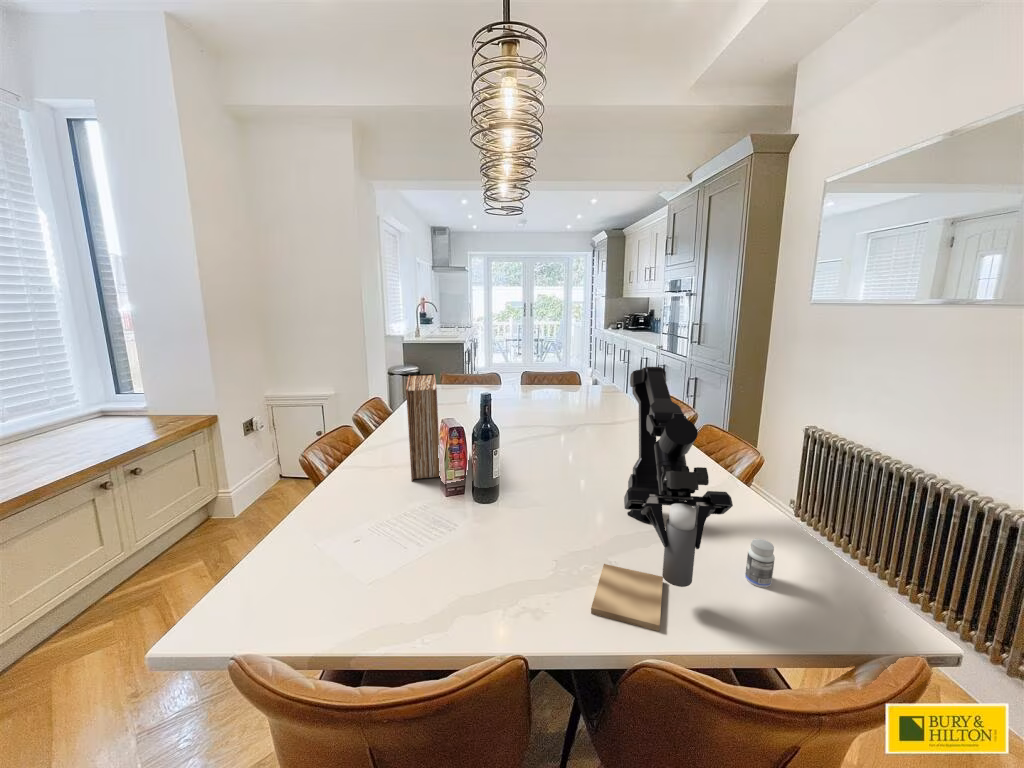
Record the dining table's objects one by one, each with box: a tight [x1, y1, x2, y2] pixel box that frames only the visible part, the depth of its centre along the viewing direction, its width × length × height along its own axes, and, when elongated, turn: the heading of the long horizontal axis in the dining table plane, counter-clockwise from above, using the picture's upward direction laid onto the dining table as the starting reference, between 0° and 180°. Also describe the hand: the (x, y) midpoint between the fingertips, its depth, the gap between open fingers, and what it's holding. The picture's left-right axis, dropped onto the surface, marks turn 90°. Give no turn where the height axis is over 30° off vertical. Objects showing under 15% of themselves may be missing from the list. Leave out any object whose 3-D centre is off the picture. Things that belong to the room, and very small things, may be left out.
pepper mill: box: [661, 503, 697, 588], centre depth 78 cm, size 5×5×14 cm
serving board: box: [590, 563, 664, 632], centre depth 83 cm, size 14×12×1 cm
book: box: [405, 373, 440, 482], centre depth 145 cm, size 25×9×30 cm, turn 11°
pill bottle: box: [744, 538, 776, 588], centre depth 87 cm, size 5×5×8 cm
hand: (681, 547), depth 77 cm, fingers closed on pepper mill, 5 cm apart
